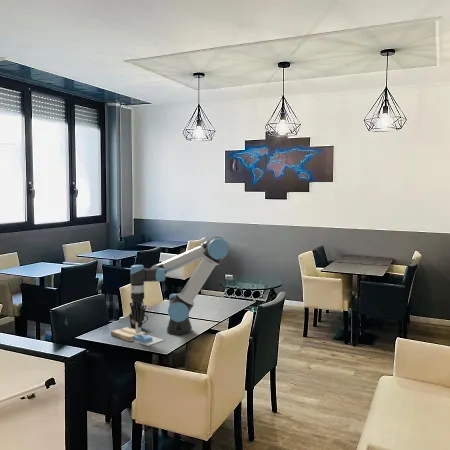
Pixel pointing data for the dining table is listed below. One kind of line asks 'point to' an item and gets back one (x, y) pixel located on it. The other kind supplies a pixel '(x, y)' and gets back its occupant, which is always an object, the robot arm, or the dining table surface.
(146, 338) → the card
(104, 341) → the dining table surface
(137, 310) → the robot arm
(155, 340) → the mat
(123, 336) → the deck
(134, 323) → the coffee mug
